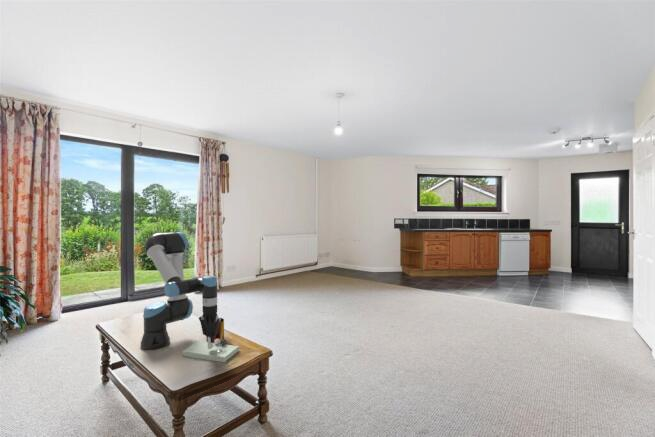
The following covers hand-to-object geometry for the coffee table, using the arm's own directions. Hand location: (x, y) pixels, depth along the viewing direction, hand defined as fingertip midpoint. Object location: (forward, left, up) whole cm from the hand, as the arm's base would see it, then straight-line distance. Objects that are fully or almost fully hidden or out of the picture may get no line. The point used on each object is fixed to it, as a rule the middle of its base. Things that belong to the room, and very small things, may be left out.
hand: (210, 348), depth 176 cm
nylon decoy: (-1, +8, 0) cm, 8 cm away
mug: (-8, +17, -4) cm, 19 cm away
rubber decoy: (+3, +8, 0) cm, 8 cm away
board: (-1, +2, -4) cm, 5 cm away
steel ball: (+5, 0, -2) cm, 6 cm away
